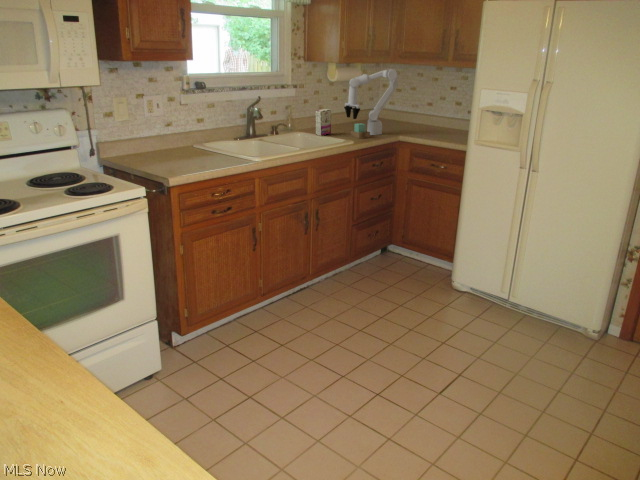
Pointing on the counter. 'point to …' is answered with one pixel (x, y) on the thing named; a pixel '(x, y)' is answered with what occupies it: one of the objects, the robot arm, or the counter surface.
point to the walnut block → (360, 134)
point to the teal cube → (359, 127)
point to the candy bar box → (323, 122)
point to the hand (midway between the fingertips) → (351, 118)
